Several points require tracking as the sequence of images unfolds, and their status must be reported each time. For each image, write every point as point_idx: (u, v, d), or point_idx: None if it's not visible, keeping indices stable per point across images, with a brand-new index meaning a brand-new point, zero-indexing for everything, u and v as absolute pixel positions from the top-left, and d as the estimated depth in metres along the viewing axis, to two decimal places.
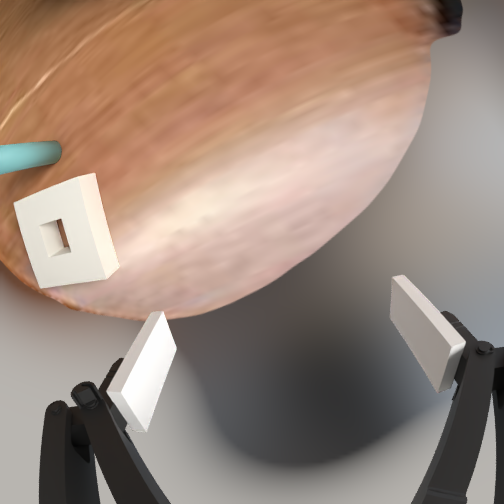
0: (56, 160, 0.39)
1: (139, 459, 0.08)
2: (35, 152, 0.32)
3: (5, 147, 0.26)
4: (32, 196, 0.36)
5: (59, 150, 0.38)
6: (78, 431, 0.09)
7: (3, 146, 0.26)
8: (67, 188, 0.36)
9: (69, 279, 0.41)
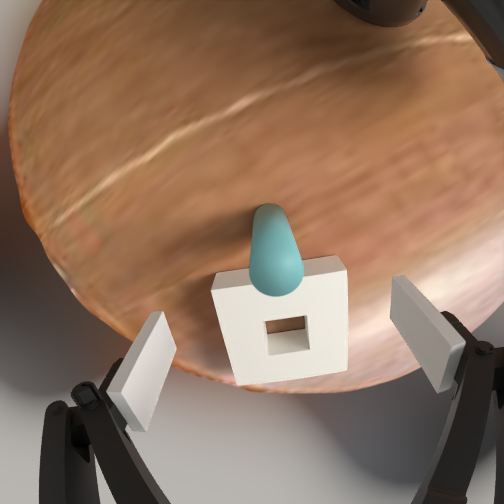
0: None
1: (139, 459, 0.08)
2: None
3: (291, 240, 0.24)
4: None
5: None
6: (78, 431, 0.09)
7: (287, 238, 0.23)
8: (327, 282, 0.34)
9: (294, 374, 0.39)
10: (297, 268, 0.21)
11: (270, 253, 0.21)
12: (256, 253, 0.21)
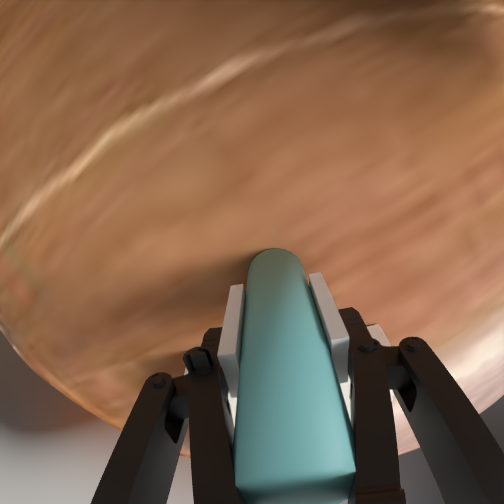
0: None
1: (233, 435, 0.09)
2: None
3: (336, 397, 0.08)
4: None
5: None
6: (184, 402, 0.10)
7: (327, 396, 0.08)
8: None
9: None
10: (348, 486, 0.06)
11: (285, 478, 0.06)
12: (247, 473, 0.06)
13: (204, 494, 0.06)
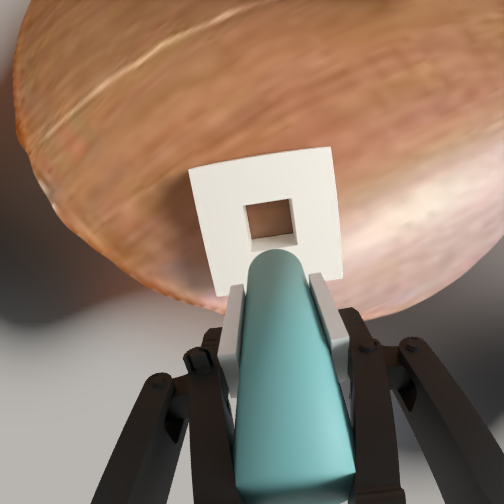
0: None
1: (233, 435, 0.09)
2: None
3: (336, 397, 0.08)
4: (236, 162, 0.31)
5: None
6: (184, 402, 0.10)
7: (327, 396, 0.08)
8: (310, 159, 0.31)
9: None
10: (349, 487, 0.06)
11: (286, 479, 0.06)
12: (247, 474, 0.06)
13: (204, 494, 0.06)
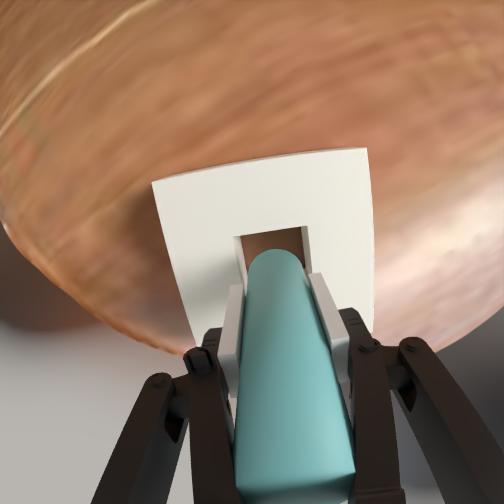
0: None
1: (233, 435, 0.09)
2: None
3: (336, 397, 0.08)
4: (223, 171, 0.20)
5: None
6: (184, 402, 0.10)
7: (327, 397, 0.08)
8: (337, 166, 0.20)
9: None
10: (349, 487, 0.06)
11: (286, 479, 0.06)
12: (247, 474, 0.06)
13: (204, 494, 0.06)
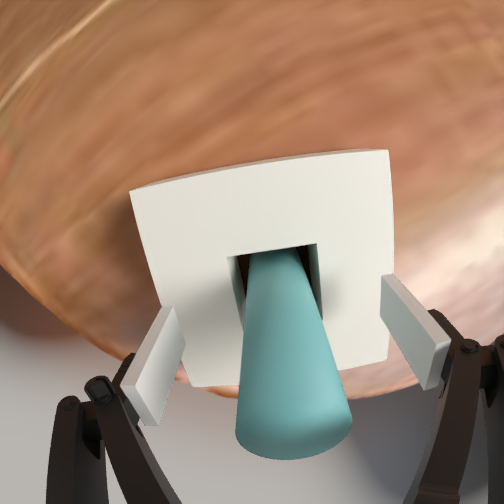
0: None
1: (150, 455, 0.09)
2: None
3: (325, 349, 0.11)
4: (214, 177, 0.17)
5: None
6: (90, 426, 0.09)
7: (317, 346, 0.11)
8: (353, 172, 0.16)
9: None
10: (338, 424, 0.08)
11: (283, 408, 0.08)
12: (251, 405, 0.08)
13: None
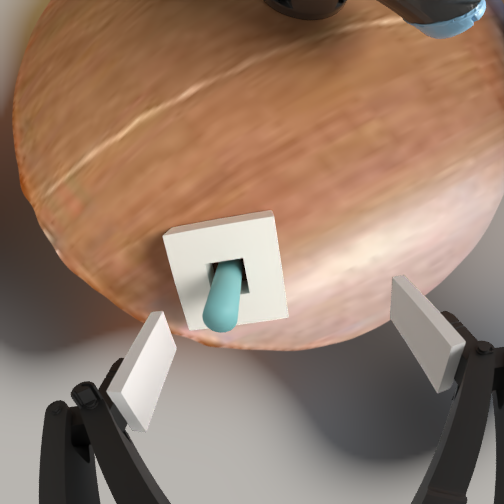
0: None
1: (139, 459, 0.08)
2: None
3: (232, 294, 0.35)
4: (198, 231, 0.41)
5: (242, 267, 0.47)
6: (78, 431, 0.09)
7: (229, 293, 0.35)
8: (257, 227, 0.41)
9: (239, 319, 0.45)
10: (233, 315, 0.32)
11: (214, 306, 0.32)
12: (206, 306, 0.32)
13: None
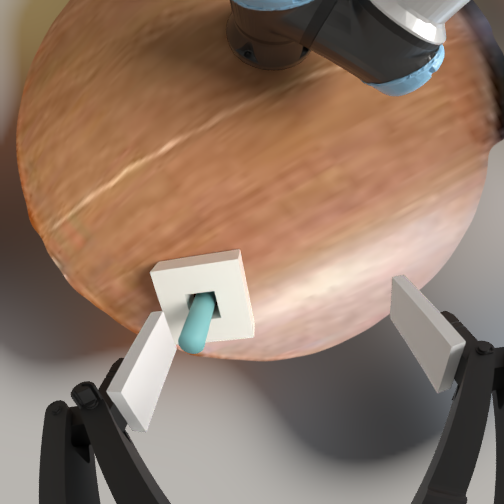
0: None
1: (139, 459, 0.08)
2: (212, 312, 0.50)
3: (202, 324, 0.44)
4: (178, 269, 0.50)
5: None
6: (78, 431, 0.09)
7: (199, 324, 0.44)
8: (225, 267, 0.49)
9: (213, 337, 0.54)
10: (200, 342, 0.42)
11: (186, 335, 0.41)
12: (180, 334, 0.42)
13: None
